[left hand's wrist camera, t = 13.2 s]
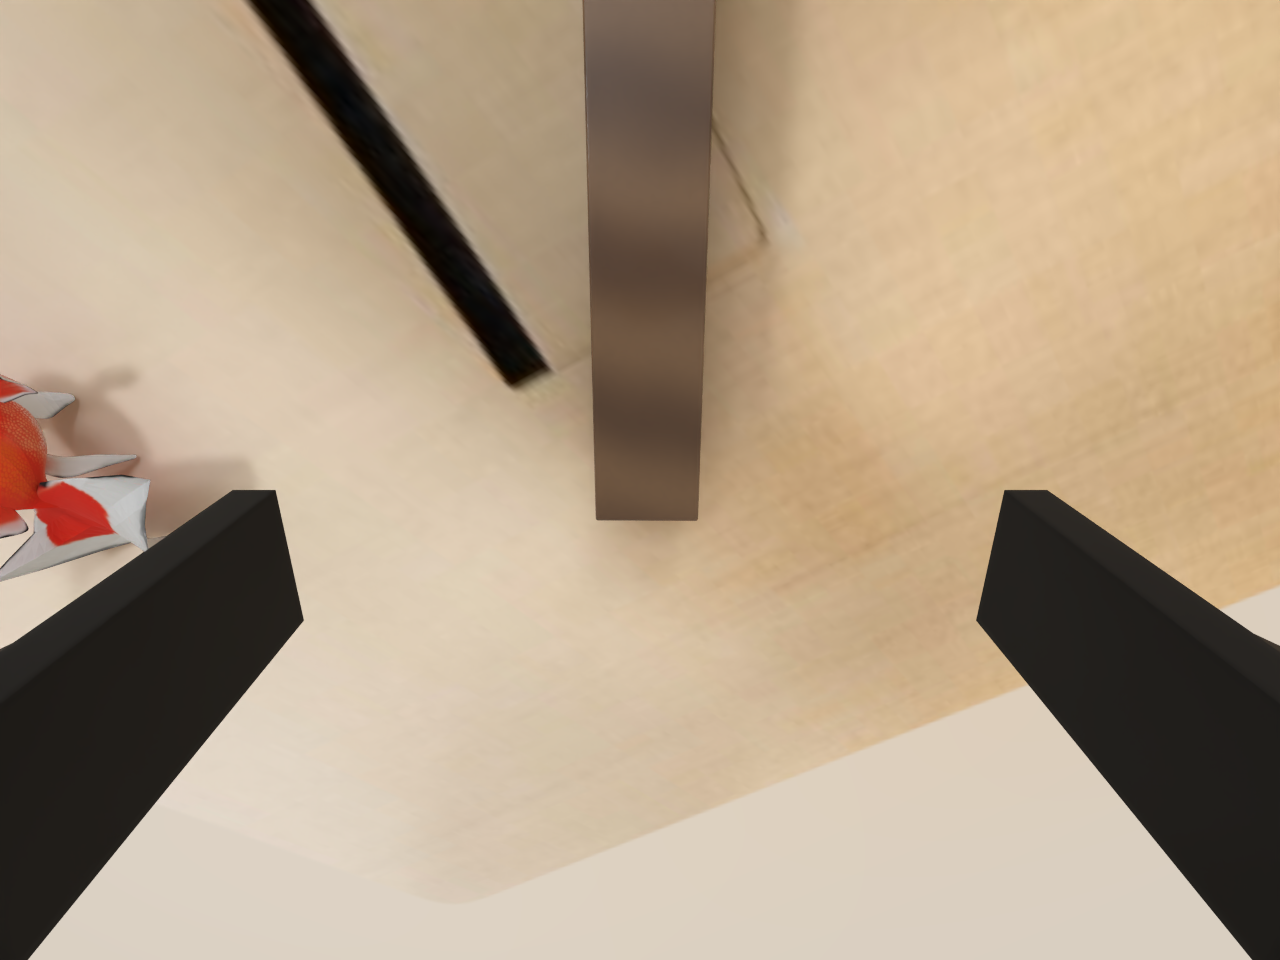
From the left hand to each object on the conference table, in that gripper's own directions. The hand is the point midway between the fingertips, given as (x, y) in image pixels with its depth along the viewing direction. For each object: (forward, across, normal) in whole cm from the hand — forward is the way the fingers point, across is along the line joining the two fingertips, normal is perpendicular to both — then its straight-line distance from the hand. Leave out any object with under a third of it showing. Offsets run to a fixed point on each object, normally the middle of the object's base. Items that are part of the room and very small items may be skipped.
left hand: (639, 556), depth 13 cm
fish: (+25, +30, +7) cm, 39 cm away
